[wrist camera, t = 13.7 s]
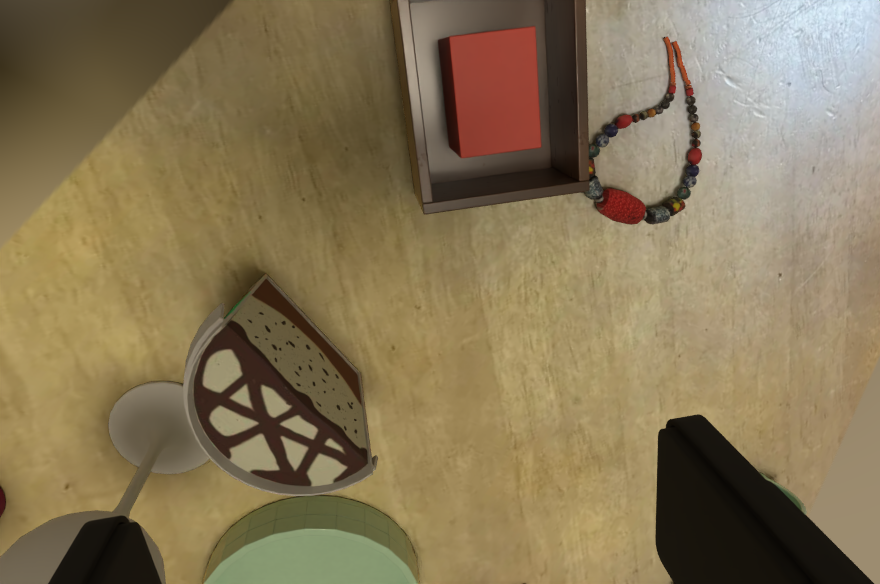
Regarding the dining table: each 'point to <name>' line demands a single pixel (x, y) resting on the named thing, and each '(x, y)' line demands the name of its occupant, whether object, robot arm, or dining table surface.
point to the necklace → (623, 203)
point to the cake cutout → (276, 398)
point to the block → (491, 91)
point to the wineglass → (152, 450)
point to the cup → (2, 502)
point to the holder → (560, 100)
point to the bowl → (313, 546)
